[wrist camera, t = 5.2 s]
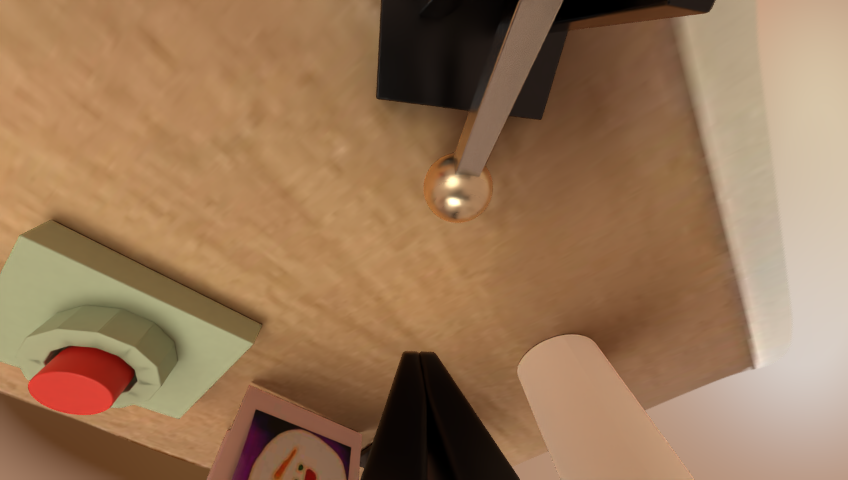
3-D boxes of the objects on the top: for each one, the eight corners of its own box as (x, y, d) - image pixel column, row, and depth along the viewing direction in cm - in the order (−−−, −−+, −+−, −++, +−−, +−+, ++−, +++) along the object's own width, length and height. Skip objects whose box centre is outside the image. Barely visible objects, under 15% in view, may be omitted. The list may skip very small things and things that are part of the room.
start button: (119, 394, 19) (97, 423, 18) (48, 370, 18) (16, 400, 16) (146, 362, 18) (124, 390, 17) (72, 334, 17) (41, 362, 15)
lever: (476, 186, 17) (483, 237, 16) (418, 181, 17) (419, 233, 15) (683, -246, 6) (781, -222, 5) (528, -299, 6) (576, -296, 4)
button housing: (191, 397, 24) (164, 446, 21) (-8, 327, 19) (-79, 377, 16) (262, 324, 22) (243, 368, 19) (51, 218, 16) (-24, 255, 13)
